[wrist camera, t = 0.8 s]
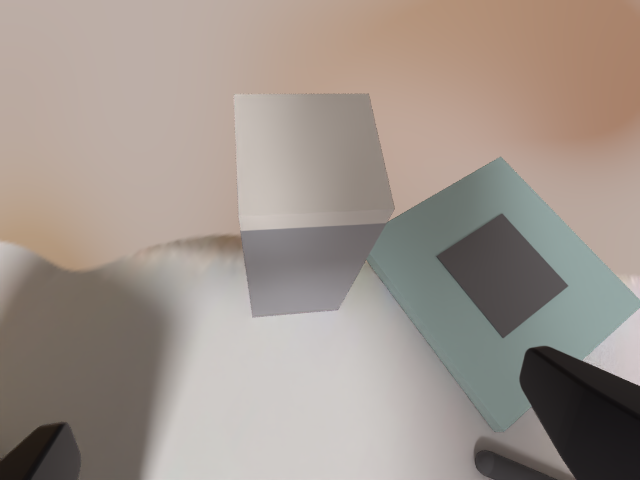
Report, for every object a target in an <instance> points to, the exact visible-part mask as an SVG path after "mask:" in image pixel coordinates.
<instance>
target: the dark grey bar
mask: <svg viewBox="0 0 640 480" xmlns="http://www.w3.org/2000/svg"><path fill="white" fill-rule="evenodd" d="M475 464H476V467H477V469H478V471H479V472H480V473H481V474H483V475H484V476H487V477H489V478H491V479H494V480H557V479H554V478H552V477H549V476H547V475H545V474H542V473H540V472H538V471H535V470H533V469H531V468H528V467H526V466H523V465H521V464H519V463H516V462H514V461H512V460H509V459H507V458H505V457H502V456H500V455H498V454H495V453H493V452H490V451H486V450H485V451H481V452H479V453H478V454H477V456H476V458H475Z"/></svg>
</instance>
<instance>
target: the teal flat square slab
mask: <svg viewBox="0 0 640 480" xmlns="http://www.w3.org/2000/svg"><path fill="white" fill-rule="evenodd" d="M366 260H367V261H368V263H369V264H370V265H371V267H372V268H373V269H374V271H375V272H376V274H377V275H378V276H379V278H380V279H381V280H382V282H383V283H384V284H385V286H386V287H387V288H388V290H389V291H390V292H391V294H392V295H393V296H394V298H395V299H396V300H397V302H398V303H399V304H400V306H401V307H402V308H403V310H404V311H405V313H406V314H407V315H408V317H409V318H410V319H411V321H412V322H413V323H414V325H415V326H416V327H417V329H418V330H419V331H420V333H421V334H422V335H423V337H424V338H425V339H426V341H427V342H428V343H429V345H430V346H431V347H432V349H433V350H434V351H435V353H436V354H437V356H438V357H439V358H440V360H441V361H442V362H443V364H444V365H445V366H446V368H447V369H448V370H449V372H450V373H451V374H452V376H453V377H454V378H455V380H456V381H457V382H458V384H459V385H460V386H461V388H462V389H463V390H464V392H465V393H466V394H467V396H468V397H469V399H470V400H471V401H472V403H473V404H474V405H475V407H476V408H477V409H478V411H479V412H480V413H481V415H482V416H483V417H484V419H485V420H486V421H487V423H488V424H489V425H490V427H491V428H492V429H493V431H494V432H504V431H505V430H506V429H508V428H509V427H510V426H511V425H512V424H513V423H514V422H515V421H516V420H517V419H518V418H520V417H521V416H522V415H523V414H524V413H525V412H526V411H527V410H528V409H529V408H531V407H532V406H531V405H530V403H529V401H528V399H527V398H526V396H525V394H524V392H523V391H522V388H521V386H520V382H519V376H520V371H521V367H522V363H523V359H524V355H525V352H526V350H527V349H529V348H531V347H538V346H549V347H552V348H554V349H556V350H559V351H561V352H563V353H565V354H568V355H570V356H572V357H575V358H577V359H579V360H581V361H582V360H583V359H584V358H585V357H586V356H587V355H588V354H590V353H591V352H592V351H593V350H594V349H595V348H596V347H597V346H598V345H599V344H600V343H602V342H603V341H604V340H605V339H606V338H607V337H608V336H609V335H610V334H611V333H612V332H614V331H615V330H616V329H617V328H618V327H619V326H620V325H621V324H622V323H623V322H624V321H626V320H627V319H628V318H629V317H630V316H631V315H632V314H633V313H634V312H635V311H637V310H638V309H639V308H640V300H639V299H638V298H637V297H636V296H635V295H634V294H633V293H632V291H631V290H630V289H629V288H628V287H627V286H626V285H625V284H624V283H623V282H622V281H621V280H620V279H619V278H618V277H617V276H616V275H615V274H614V273H613V272H612V271H611V270H610V269H609V268H608V267H607V266H606V265H605V264H604V263H603V262H602V261H601V260H600V259H599V258H598V257H597V256H596V254H595V253H594V252H593V251H592V250H591V249H590V248H589V247H588V246H587V245H586V244H585V243H584V242H583V241H582V240H581V239H580V238H579V237H578V236H577V235H576V234H575V233H574V232H573V231H572V230H571V229H570V228H569V226H567V225H566V223H565V222H564V221H563V220H562V219H561V218H560V217H559V216H558V215H557V214H556V213H555V212H554V211H553V210H552V209H551V208H550V207H549V206H548V205H547V204H546V203H545V202H544V201H543V200H542V199H541V198H540V197H539V196H538V195H537V194H536V192H535V191H534V190H533V189H532V188H531V187H530V186H529V185H528V184H527V183H526V182H525V181H524V180H523V179H522V178H521V177H520V176H519V175H518V174H517V173H516V172H515V171H514V170H513V169H512V168H511V167H510V166H509V165H508V164H507V163H506V161H505V160H503V158H502V157H499V158H497V159H496V160H494V161H492V162H490V163H489V164H487V165H485V166H483V167H482V168H480V169H478V170H477V171H475V172H473V173H472V174H470V175H468V176H466V177H464V178H463V179H461V180H459V181H458V182H456V183H454V184H453V185H451V186H449V187H447V188H446V189H444V190H442V191H440V192H439V193H437V194H435V195H433V196H432V197H430V198H428V199H426V200H425V201H423V202H421V203H420V204H418V205H416V206H414V207H413V208H411V209H409V210H407V211H406V212H404V213H402V214H401V215H399V216H397V217H395V218H394V219H392V220H390V221H388V222H387V223H386V225H385V227H384V229H383V231H382V232H381V234H380V236H379V238H378V239H377V241H376V243H375V245H374V247H373V248H372V250H371V252H370V254H369V255H368V257H367V259H366Z"/></svg>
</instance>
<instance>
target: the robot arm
mask: <svg viewBox="0 0 640 480" xmlns="http://www.w3.org/2000/svg"><path fill="white" fill-rule="evenodd" d="M519 382H520V386H521V388H522V391H523V392H524V394H525V396H526V398H527V399H528V401H529V403H530V405H531V406H532V408H533V410H534V411H535V413H536V415H537V417H538V418H539V420H540V422H541V424H542V425H543V427H544V429H545V431H546V432H547V434H548V436H549V438H550V439H551V441H552V443H553V444H554V446H555V448H556V449H557V451H558V453H559V454H560V456H561V458H562V459H563V461H564V462H565V464H566V465H567V467H568V468H569V470H570V471H571V473H572V474H573V475H574V477H575V478H576V480H640V386H638V385H636V384H634V383H631V382H629V381H627V380H625V379H622V378H620V377H618V376H615V375H613V374H611V373H609V372H606V371H604V370H602V369H600V368H597V367H595V366H593V365H590V364H588V363H586V362H584V361H581V360H579V359H577V358H575V357H572V356H570V355H568V354H565V353H563V352H561V351H559V350H556V349H554V348H552V347H549V346H538V347H531V348H529V349H527V350H526V352H525V355H524V359H523V363H522V367H521V371H520V376H519ZM80 467H81V455H80V451H79V449H78V446H77V443H76V441H75V438H74V435H73V433H72V430H71V427H70V426H69V424H68V423H66V422H59V423H53V424H46V425H42V426H40V427H38V428H37V429H35V430H34V431H33V432H32V433H31V434H30V435H29V436H28V437H26V438H25V439H24V440H23V441H22V442H21V443H20V444H19V445H17V446H16V447H15V448H14V449H13V450H12V451H11V452H10V453H9V454H7V455H6V456H5V457H4V458H3V459H2V460H1V461H0V480H78V477H79V472H80Z"/></svg>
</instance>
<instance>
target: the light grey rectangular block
mask: <svg viewBox="0 0 640 480" xmlns="http://www.w3.org/2000/svg"><path fill="white" fill-rule="evenodd" d="M234 113H235V138H236V139H235V141H236V167H237V194H238V217H239V225H240V232H241V239H242V246H243V253H244V260H245V267H246V274H247V281H248V289H249V296H250V303H251V310H252V317H263V316H274V315H286V314H297V313H309V312H320V311H332V310H338V309H339V307H340V305H341V303H342V302H343V300H344V298H345V296H346V294H347V293H348V291H349V289H350V287H351V286H352V284H353V282H354V280H355V279H356V277H357V275H358V273H359V271H360V270H361V268H362V266H363V264H364V263H365V261H366V259H367V257H368V255H369V254H370V252H371V250H372V248H373V247H374V245H375V243H376V241H377V239H378V238H379V236H380V234H381V232H382V231H383V229H384V227H385V225H386V223H387V222H388V220H389V218H390V216H391V215H392V213H393V211H394V209H395V208H394V203H393V199H392V194H391V190H390V186H389V181H388V177H387V172H386V168H385V163H384V159H383V155H382V150H381V146H380V141H379V138H378V133H377V128H376V124H375V119H374V115H373V110H372V106H371V102H370V97H369V94H234Z"/></svg>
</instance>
